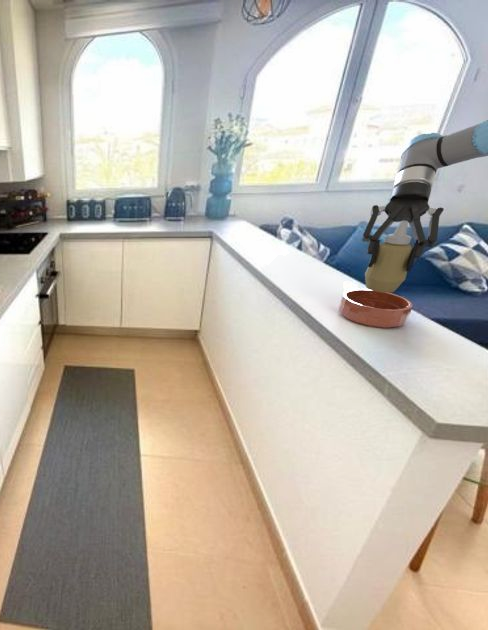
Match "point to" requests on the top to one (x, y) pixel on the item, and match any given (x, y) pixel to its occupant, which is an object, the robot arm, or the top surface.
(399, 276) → the squeeze bottle
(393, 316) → the bowl
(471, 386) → the top surface
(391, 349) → the top surface
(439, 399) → the top surface
